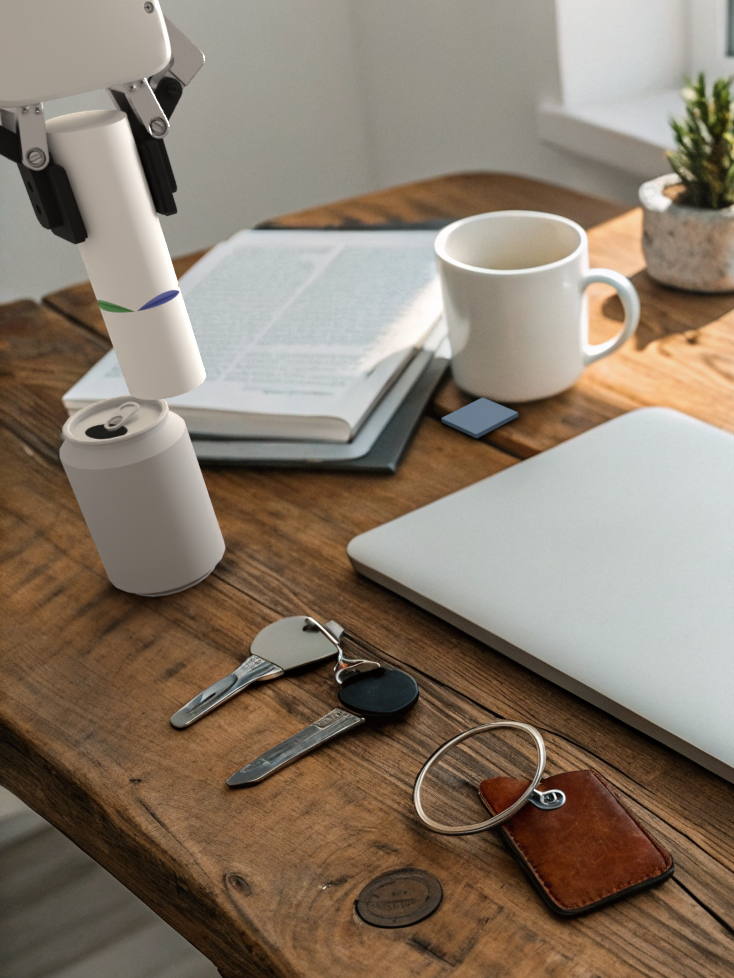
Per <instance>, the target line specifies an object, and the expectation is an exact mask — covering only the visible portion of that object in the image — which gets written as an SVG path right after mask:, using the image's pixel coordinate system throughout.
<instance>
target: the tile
mask: <svg viewBox="0 0 734 978" xmlns="http://www.w3.org/2000/svg"><path fill="white" fill-rule="evenodd" d="M516 418H519V413H518V411H515V410H514V409H511V408H508V407H506V406H504V405H501V404H499V403H497V402H494V401H492V400H490V399H488V398H486V397H480V398H479V399H476V400H475V401H472V402H470V403H469V404H467V405H464V406H462V407H461V408H458V409H457V410H455V411H453V412H451V413H449V414H446V415H445V416H443V417H441V418H440V420H441V423H443V424H444V425H447V426H449V427H451V428H453V429H455V430H457V431H459V432H462V433H464V434H466V435H468V436H470V437H472V438H475V439H479V438H481V437H482V436H485V435H487V434H489V433H490V432H492V431H494V430H496V429H499V428H500V427H502V426H504V425H505V424H507V423H510V422H511V421H513V420H515V419H516Z"/></svg>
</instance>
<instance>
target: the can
mask: <svg viewBox="0 0 734 978" xmlns="http://www.w3.org/2000/svg"><path fill="white" fill-rule="evenodd" d="M61 431H62V436H63V438H64V441H63V442H62V445H61V446H60V448H59V459H60V462H61V464H62V467H63V470H64V472H65V474H66V477H67V479H68V482H69V485H70V486H71V489H72V492H73V494H74V496H75V499H76V501H77V504H78V506H79V509H80V512H81V514H82V516H83V518H84V521H85V524H86V526H87V529H88V531H89V533H90V536H91V538H92V541H93V544H94V546H95V548H96V551H97V554H98V556H99V559H100V561H101V563H102V565H103V568H104V571H105V573H106V576H107V579H108V581H109V582H110V583H111V584H112V585H113V586H114V587H115V588H117V589H119V590H121V591H124V592H126V593H130V594H135V595H137V596H140V597H150V598H151V597H152V598H156V597H164V596H170V595H174V594H177V593H180V592H183V591H184V592H185V591H186V590H188V589H190V588H193V587H195V586H196V585H198V584H199V583H201V582H202V581H203V580H205V579H207V578H208V577H209V576H210V574H211V573H212V572H213V571H214V570H215V568H216V566H217V565H218V563H220V562H221V560H222V559H223V556H224V554H225V551H226V545H225V541H224V537H223V534H222V531H221V528H220V525H219V521H218V519H217V516H216V513H215V510H214V506H213V504H212V501H211V498H210V495H209V492H208V491H209V490H208V489H207V486H206V483H205V479H204V475H203V473H202V470H201V468H200V465H199V461H198V459H197V455H196V452H195V449H194V446H193V443H192V440H191V437H190V434H189V430H188V428H187V425H186V421H185V419H183V418H182V417H181V416H179V414H178V413H176V412H173V411H171V410H170V408H169V404H168V402H167V401H166V400H165V399H159V400H143V399H138V398H135V397H133V396H132V395H131V394H124V395H118V396H113V397H109V398H105V399H102V400H99V401H96V402H93V403H91V404H89V405H87V406H85V407H83V408H81V409H78V410H77V411H76V412H75V413H73V414H72V415H71V416H70V417H68V418H67V420H66V421H65V422H64V424H63V426H62V430H61Z"/></svg>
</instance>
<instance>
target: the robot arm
mask: <svg viewBox="0 0 734 978" xmlns="http://www.w3.org/2000/svg"><path fill="white" fill-rule="evenodd" d="M205 60H206V58H205V55H204V53H203V51H202V50H201V49H199V48H198V46H197V45H196V44H194V42H193V41H192V40H191V39H190V38H189V37H188V36H187V35H185V33H184V32H182V31H181V29H179V28H178V27H177V26H176V25H175V24H174V23H173V22H172V21H171V20H170V19H169V18H168V17H167V16H166V15H165V14H164V13H163V11H162V8H161V5H160V2H159V0H0V156H2V157H4V158H5V159H7V160H8V161H11V162H12V163H15V164H16V166H17V168H18V169H17V170H18V171H19V174H20V177H21V179H22V182H23V185H24V187H25V190H26V193H27V196H28V198H29V202H30V204H31V207H32V210H33V213H34V215H35V218H36V220H37V221H38V223H39V224H40V226H41V227H42V228H44V229H46V230H47V231H48V230H50V231H51V233H52V234H53V235H54V236H56V237H58V238H60V239H62V240H64V241H66V242H69V243H70V244H73V245H77V244H79V243H82V242H85V240H86V238H88V234H87V231H86V228H85V225H84V223H83V220H82V217H81V214H80V211H79V208H78V205H77V202H76V199H75V196H74V193H73V191H72V188H71V185H70V182H69V179H68V176H67V173H66V171H65V169H64V168H63V167H62V166H60V165H57V164H54V162H53V159H52V156H51V154H50V152H48V144H47V136H46V128H45V121H46V120H45V113H44V104H43V103H45V102H50V101H54V100H59V99H62V98H68V97H72V96H76V95H81V94H84V93H85V94H86V93H89V92H94V91H99V90H102V89H105V91H106V92H107V94H108V96H109V98H110V100H111V102H112V104H113V105H114V107H115V110H119V111H123V112H125V113H126V114H127V118H128V121H129V124H130V127H131V131H132V134H133V137H134V140H135V144H136V147H137V150H138V154H139V157H140V160H141V163H142V167H143V170H144V173H145V176H146V180H147V183H148V186H149V190H150V193H151V196H152V199H153V203H154V206H155V209H156V212H157V214H159V215H161V216H165V217H170V216H173V215H176V214H178V207H177V203H176V201H175V197H174V193H177V192H178V184H177V182H176V181H177V180H176V177H175V174H174V172H173V168H172V165H171V161H170V157H169V154H168V150H167V147H166V143H165V140H164V138H165V137H167V136H168V134H169V132H170V123H169V122H170V119H171V117H172V115H173V114H174V112H175V109H176V108H177V106H178V105H179V102H180V100H181V98H182V95H183V91H184V89H185V88H186V87H188V85H190V83H191V81H192V80H193V79H194V78H195V76H196V75H197V74H198V72H199V71H200V70H201V68H202V67H203V66H204V64H205Z"/></svg>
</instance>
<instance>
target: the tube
mask: <svg viewBox="0 0 734 978" xmlns="http://www.w3.org/2000/svg"><path fill="white" fill-rule="evenodd" d="M45 128H46V136H47V144H48V152H50V154H51V156H52V159H53V162H54V164H57V165H60V166H62V167H63V168H64V169H65V171H66V173H67V176H68V179H69V182H70V185H71V188H72V191H73V193H74V196H75V199H76V202H77V205H78V208H79V211H80V214H81V217H82V220H83V223H84V225H85V228H86V231H87V234H88V238H86V240H85V242H82V243H79V244H76V245H77V248H78V251H79V253H80V257H81V259H82V261H83V265H84V268H85V271H86V273H87V276H88V279H89V282H90V285H91V287H92V290H93V293H94V296H95V299H96V302H97V303H98V309H99V310H100V314H101V316H102V318H103V319H102V320H103V322H104V325H105V327H106V330H107V333H108V337H109V340H110V342H111V344H112V347H113V350H114V353H115V356H116V359H117V361H118V365H119V367H120V371H121V373H122V376H123V379H124V381H125V384H126V387H127V388H126V389H127V390H128V393H129V395H132V396H133V397H135V398H138V399H143V400H159V399H163V400H165V399H170V398H175V397H178V396H181V395H184V394H186V393H187V394H188V393H189V392H191V391H193V390H195V389H196V388H198V387H199V386H201V385H202V384H203V383H204V382H205V380H206V378H207V373H206V369H205V366H204V363H203V360H202V356H201V353H200V350H199V346H198V344H197V340H196V337H195V334H194V331H193V327H192V323H191V320H190V317H189V314H188V311H187V307H186V304H185V300H184V298H183V295H182V292H181V287H180V285H179V281H178V279H177V275H176V272H175V268H174V265H173V262H172V258H171V255H170V252H169V249H168V245H167V241H166V239H165V236H164V232H163V229H162V226H161V223H160V219H159V216H158V213H157V212H156V209H155V206H154V203H153V199H152V196H151V193H150V190H149V186H148V183H147V180H146V176H145V173H144V170H143V167H142V163H141V160H140V157H139V154H138V150H137V147H136V144H135V140H134V137H133V134H132V131H131V127H130V124H129V121H128V118H127V114H126V113H125V112H123V111H119V110H117V109H91V110H83V111H77V112H71V113H65V114H62V115H59V116H55V117H52V118H48V119H47V120H45Z"/></svg>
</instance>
